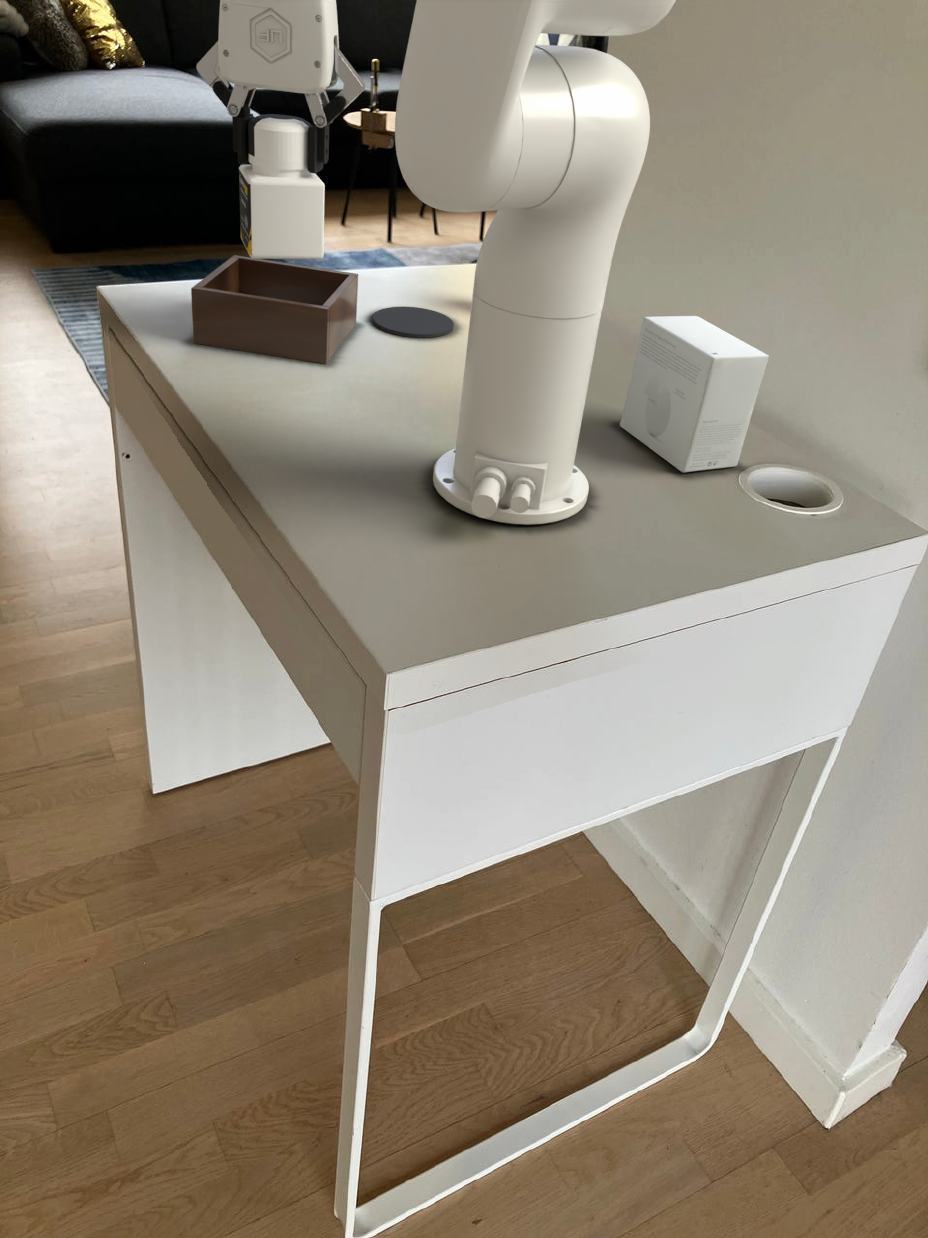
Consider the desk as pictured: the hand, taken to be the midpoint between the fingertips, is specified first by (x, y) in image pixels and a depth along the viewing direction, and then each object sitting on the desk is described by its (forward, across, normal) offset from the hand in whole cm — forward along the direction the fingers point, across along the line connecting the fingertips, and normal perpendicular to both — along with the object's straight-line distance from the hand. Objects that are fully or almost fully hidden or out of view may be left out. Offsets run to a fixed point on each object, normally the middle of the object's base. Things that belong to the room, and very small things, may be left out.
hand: (281, 164), depth 97 cm
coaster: (+17, +12, +10) cm, 23 cm away
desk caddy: (+17, 0, 0) cm, 17 cm away
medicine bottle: (+8, 0, 0) cm, 8 cm away
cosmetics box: (+17, +41, -12) cm, 46 cm away
